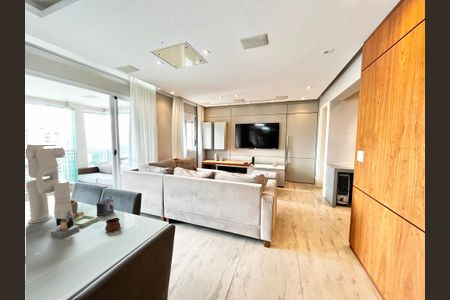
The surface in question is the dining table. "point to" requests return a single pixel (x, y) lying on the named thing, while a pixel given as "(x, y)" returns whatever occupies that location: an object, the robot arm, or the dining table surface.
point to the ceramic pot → (112, 225)
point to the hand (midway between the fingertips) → (65, 225)
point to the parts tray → (84, 220)
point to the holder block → (65, 233)
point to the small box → (105, 207)
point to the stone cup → (75, 209)
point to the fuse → (64, 224)
